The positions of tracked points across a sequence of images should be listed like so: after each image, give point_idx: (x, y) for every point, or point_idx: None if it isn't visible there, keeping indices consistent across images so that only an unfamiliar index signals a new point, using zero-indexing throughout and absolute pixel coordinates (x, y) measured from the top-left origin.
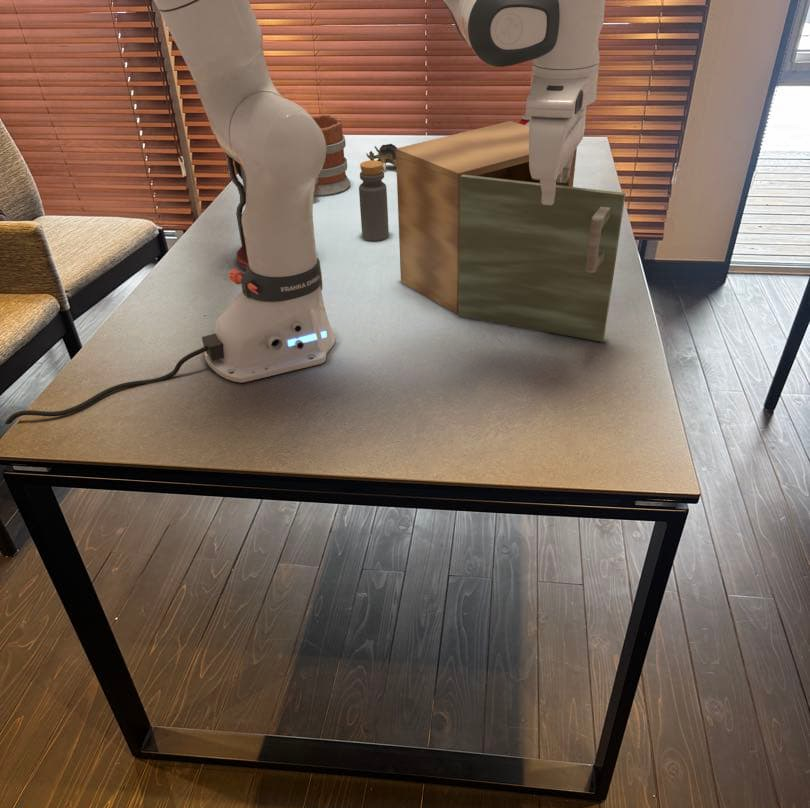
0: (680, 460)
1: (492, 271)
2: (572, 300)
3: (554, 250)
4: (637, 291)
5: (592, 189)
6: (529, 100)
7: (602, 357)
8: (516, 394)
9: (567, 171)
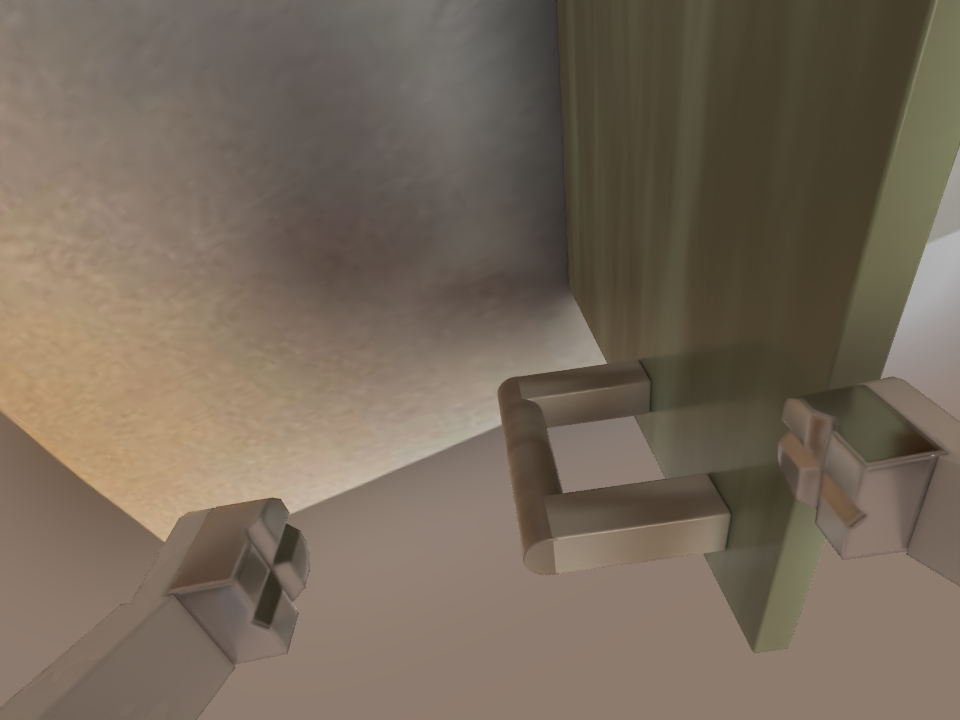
0: None
1: None
2: (591, 232)
3: (647, 197)
4: None
5: None
6: None
7: (498, 314)
8: (209, 214)
9: (840, 549)
